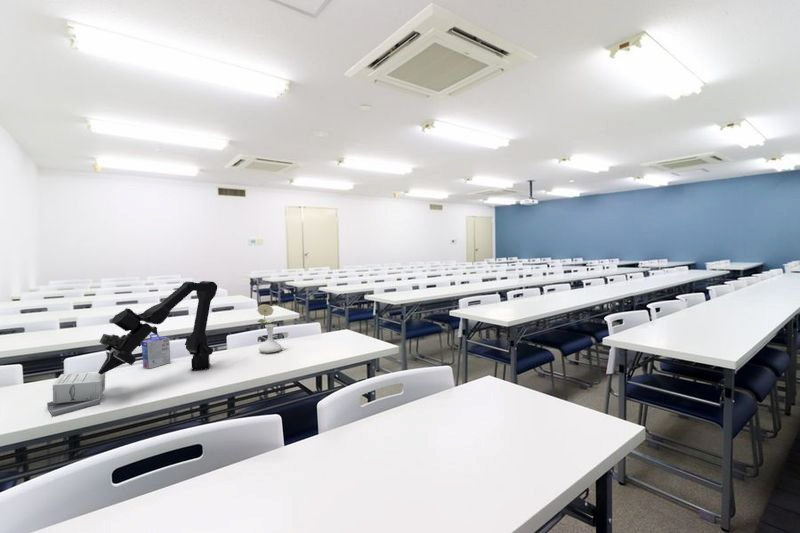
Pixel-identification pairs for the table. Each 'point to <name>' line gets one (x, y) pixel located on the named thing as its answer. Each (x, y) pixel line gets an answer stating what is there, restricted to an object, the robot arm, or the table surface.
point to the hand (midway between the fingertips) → (99, 373)
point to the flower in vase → (270, 343)
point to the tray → (69, 406)
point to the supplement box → (78, 387)
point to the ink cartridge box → (155, 351)
